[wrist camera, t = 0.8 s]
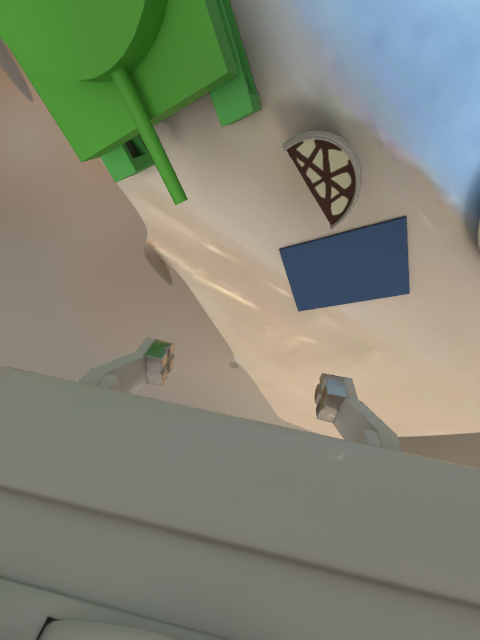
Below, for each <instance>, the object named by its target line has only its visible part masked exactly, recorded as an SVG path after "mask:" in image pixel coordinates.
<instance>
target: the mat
mask: <svg viewBox="0 0 480 640" xmlns="http://www.w3.org/2000/svg"><path fill="white" fill-rule="evenodd" d="M279 251H280V254H281V257H282V260H283V264H284V267H285V270H286V273H287V276H288V280H289V283H290V286H291V289H292V292H293V296H294V299H295V302H296V305H297V308H298V311H304V310H310V309H316V308H323V307H329V306H335V305H341V304H348V303H354V302H360V301H366V300H373V299H379V298H385V297H392V296H398V295H404V294H409V269H408V245H407V222H406V216H405V217H401V218H397V219H393V220H389V221H385V222H382V223H378V224H374V225H370V226H366V227H362V228H359V229H355V230H351V231H347V232H343V233H339V234H335V235H332V236H328V237H324V238H320V239H316V240H312V241H309V242H305V243H301V244H297V245H293V246H289V247H286V248H282V249H280V250H279Z"/></svg>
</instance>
